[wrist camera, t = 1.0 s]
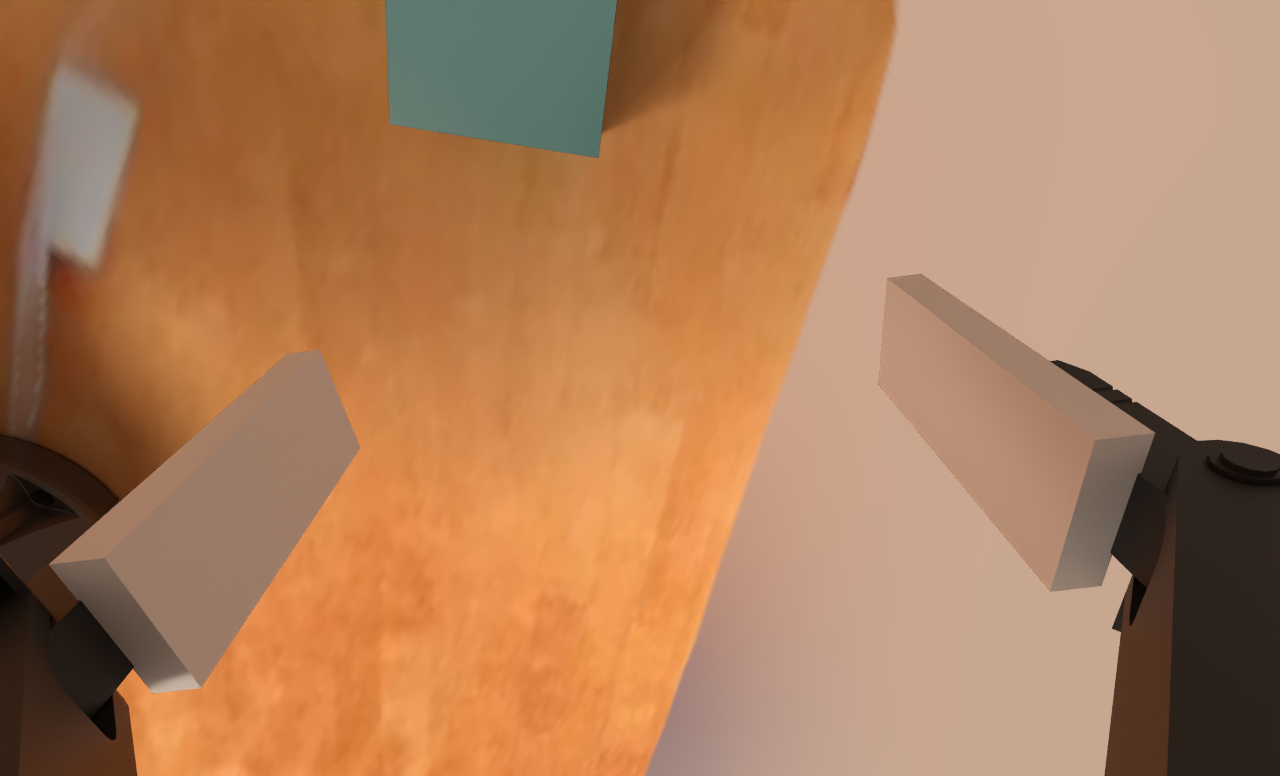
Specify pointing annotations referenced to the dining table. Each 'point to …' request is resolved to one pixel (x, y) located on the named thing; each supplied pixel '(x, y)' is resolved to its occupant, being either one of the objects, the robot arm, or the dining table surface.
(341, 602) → the dining table surface
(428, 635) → the dining table surface
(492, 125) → the teal block
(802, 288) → the dining table surface
